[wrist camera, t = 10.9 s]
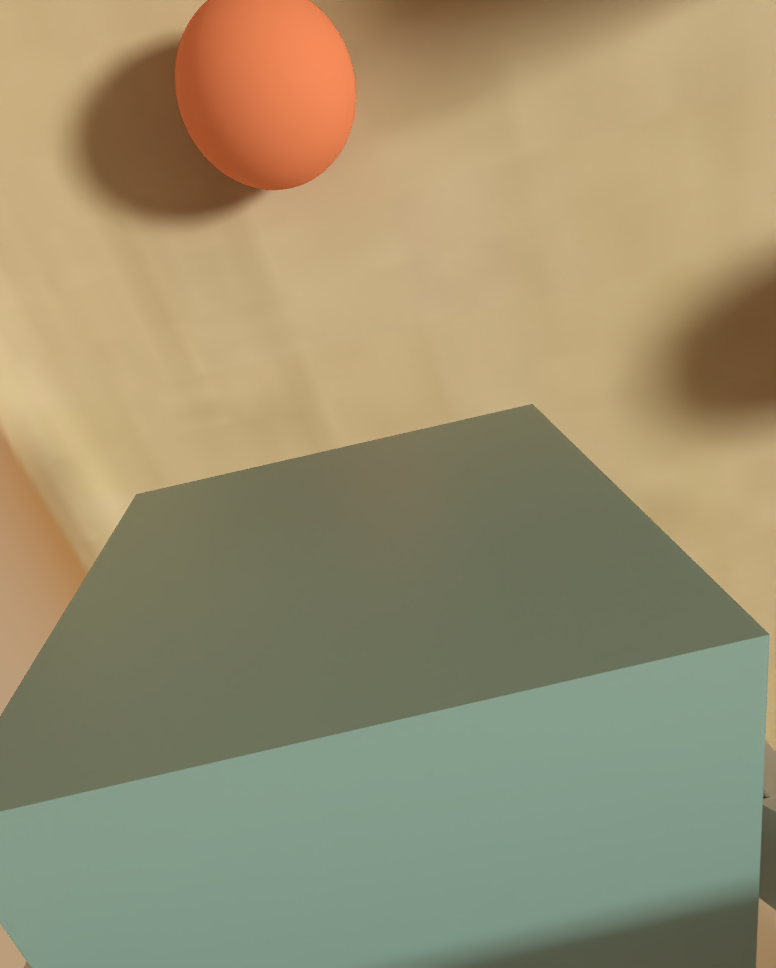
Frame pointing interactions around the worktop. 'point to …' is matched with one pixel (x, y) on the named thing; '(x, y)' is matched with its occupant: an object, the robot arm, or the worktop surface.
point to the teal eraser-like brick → (390, 725)
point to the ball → (265, 90)
